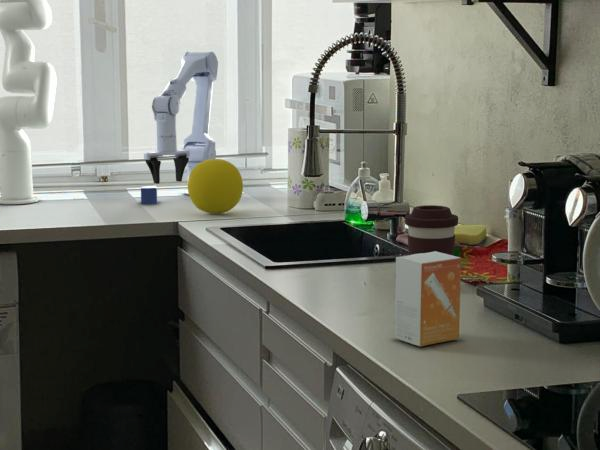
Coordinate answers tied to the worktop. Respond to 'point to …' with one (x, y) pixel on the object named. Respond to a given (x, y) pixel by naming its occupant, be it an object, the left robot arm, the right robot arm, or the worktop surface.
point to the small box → (427, 298)
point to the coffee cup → (431, 230)
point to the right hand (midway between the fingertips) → (167, 182)
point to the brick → (148, 194)
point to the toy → (215, 186)
